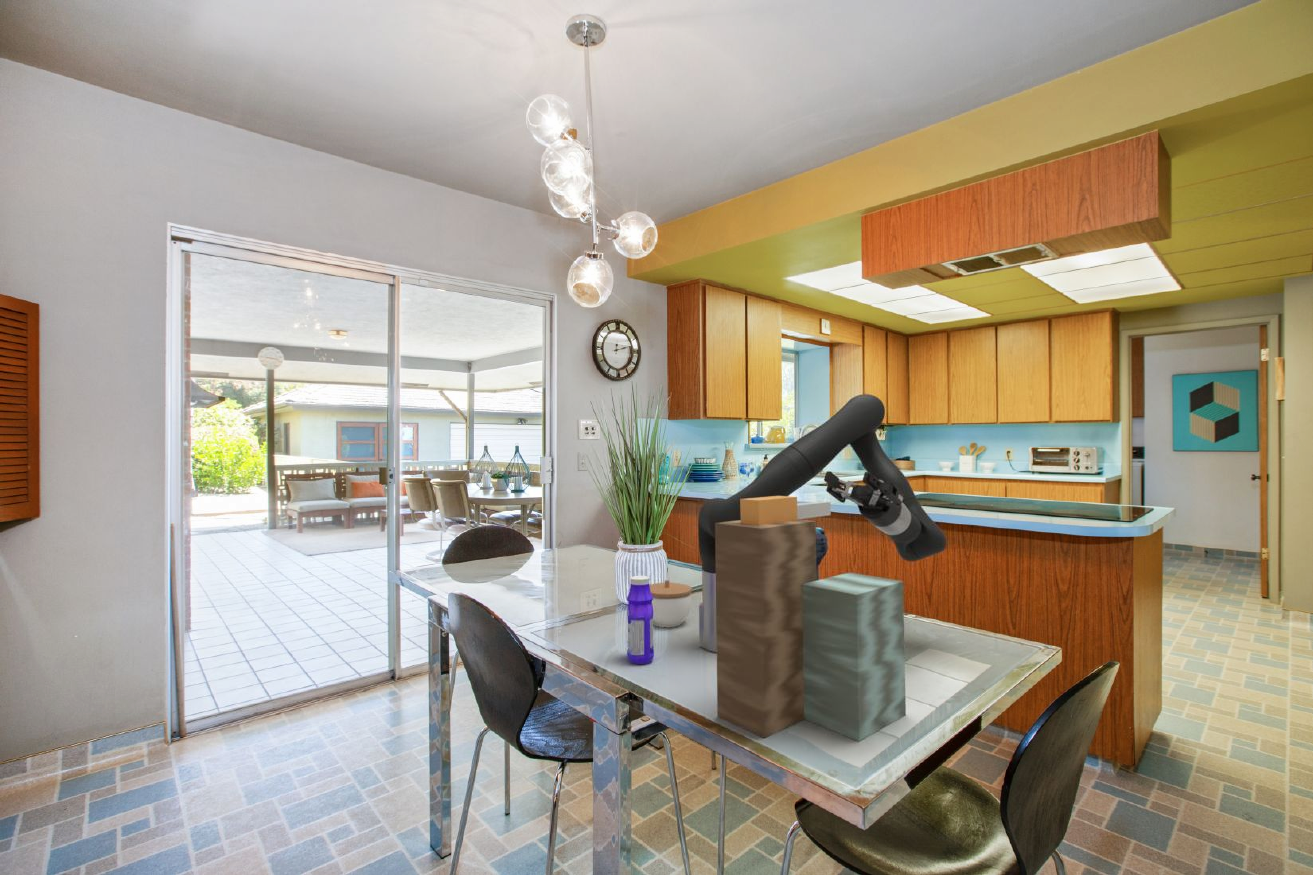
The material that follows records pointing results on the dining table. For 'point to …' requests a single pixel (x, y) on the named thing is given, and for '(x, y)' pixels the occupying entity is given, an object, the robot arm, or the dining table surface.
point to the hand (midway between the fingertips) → (845, 475)
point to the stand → (803, 636)
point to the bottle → (640, 621)
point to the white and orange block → (780, 510)
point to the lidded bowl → (670, 603)
